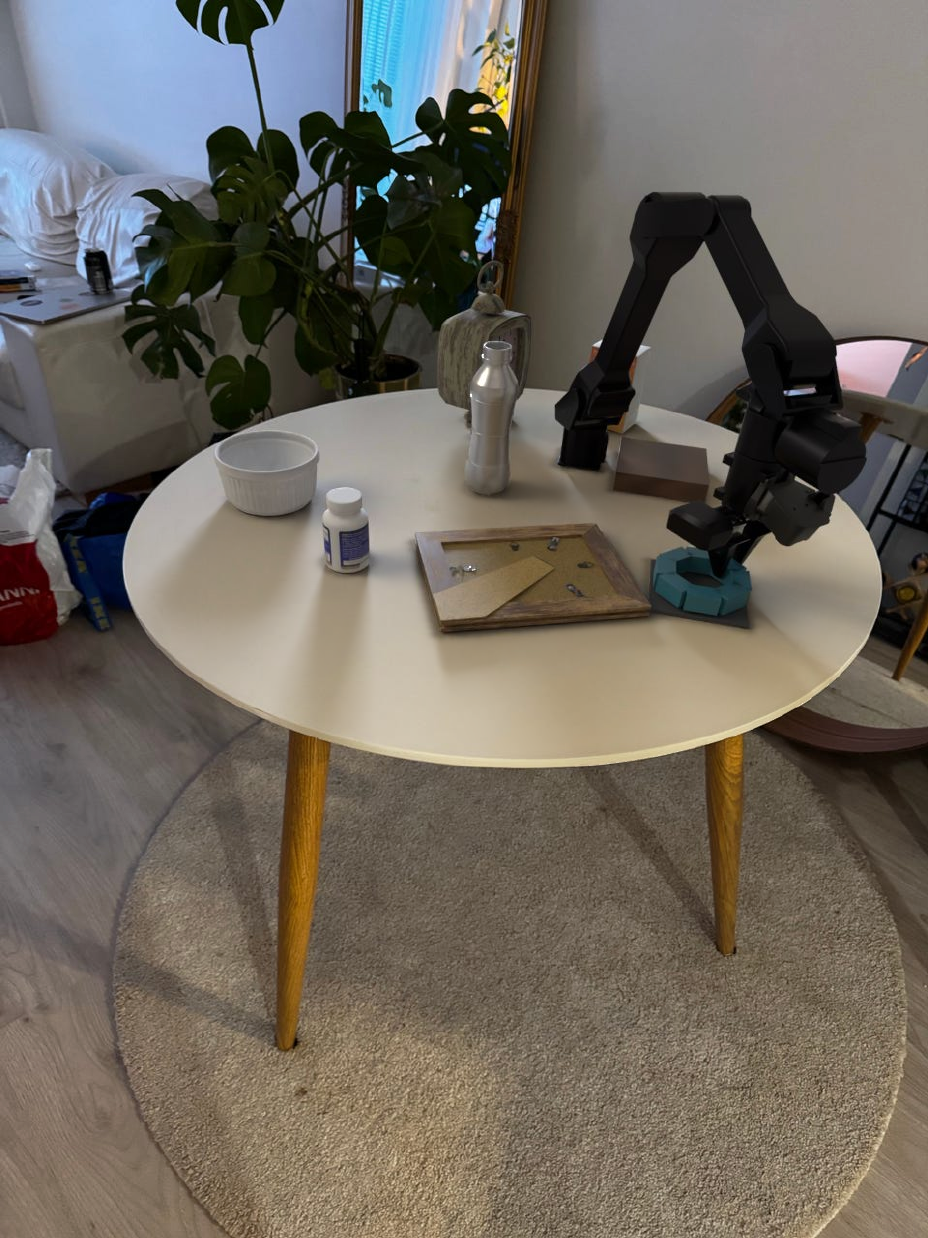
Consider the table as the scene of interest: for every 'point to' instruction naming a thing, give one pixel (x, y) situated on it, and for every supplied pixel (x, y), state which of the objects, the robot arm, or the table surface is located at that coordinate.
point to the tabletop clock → (480, 344)
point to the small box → (637, 381)
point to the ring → (695, 595)
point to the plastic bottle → (491, 420)
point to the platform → (662, 470)
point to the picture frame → (525, 577)
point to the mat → (665, 607)
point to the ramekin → (268, 471)
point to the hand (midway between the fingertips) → (724, 573)
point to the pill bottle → (345, 531)
